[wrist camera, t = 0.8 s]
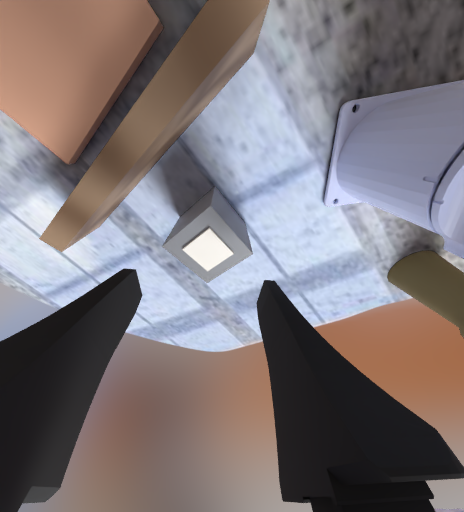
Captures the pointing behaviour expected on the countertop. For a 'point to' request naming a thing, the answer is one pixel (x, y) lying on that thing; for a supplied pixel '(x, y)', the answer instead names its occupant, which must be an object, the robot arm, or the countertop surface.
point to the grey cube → (209, 237)
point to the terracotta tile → (69, 64)
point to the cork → (432, 284)
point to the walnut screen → (161, 113)
